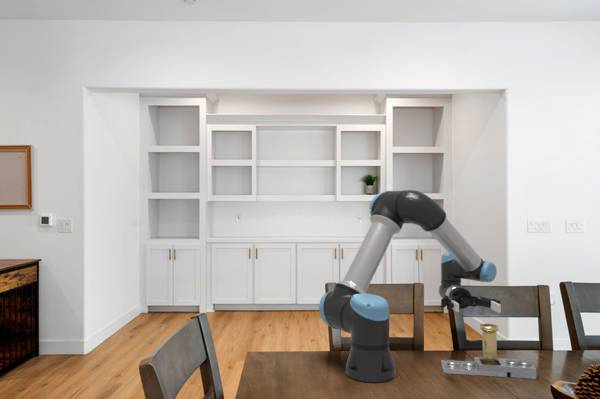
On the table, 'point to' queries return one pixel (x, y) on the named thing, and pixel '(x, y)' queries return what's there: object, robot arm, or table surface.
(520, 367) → the chain end
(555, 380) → the table surface
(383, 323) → the robot arm
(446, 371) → the chain end
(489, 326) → the brass pin
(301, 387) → the table surface
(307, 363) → the table surface
